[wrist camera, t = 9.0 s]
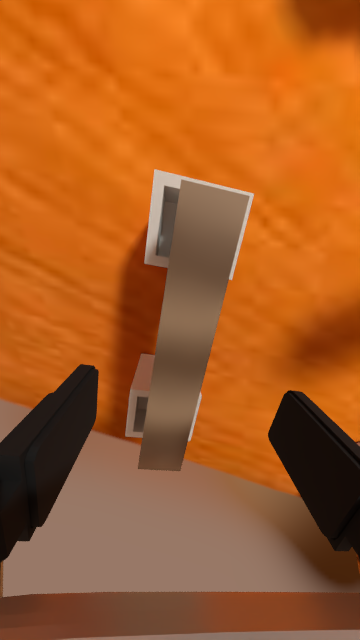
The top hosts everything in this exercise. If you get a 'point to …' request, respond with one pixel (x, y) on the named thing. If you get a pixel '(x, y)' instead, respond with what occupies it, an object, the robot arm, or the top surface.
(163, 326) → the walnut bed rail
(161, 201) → the twin hollow square sockets
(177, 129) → the top surface
